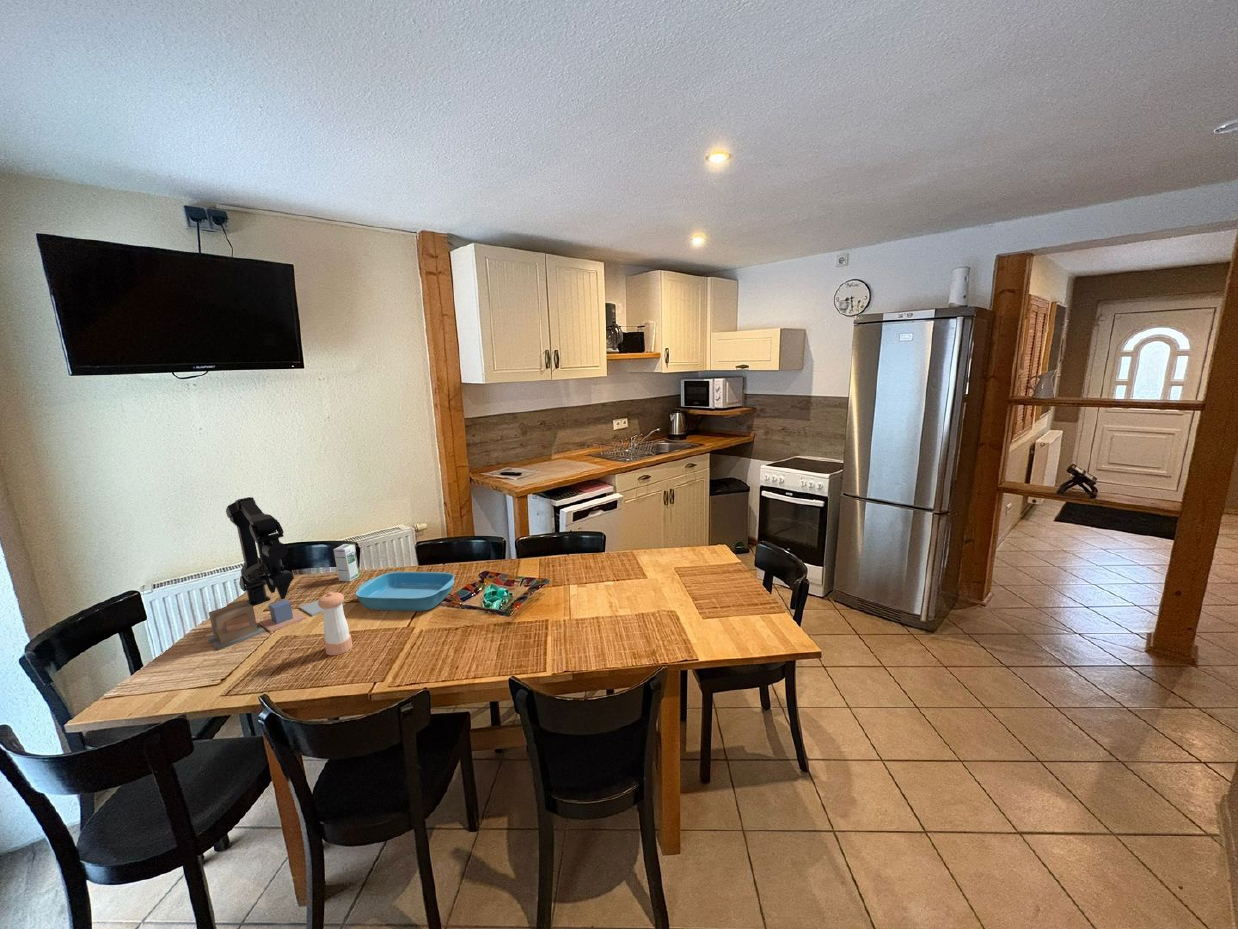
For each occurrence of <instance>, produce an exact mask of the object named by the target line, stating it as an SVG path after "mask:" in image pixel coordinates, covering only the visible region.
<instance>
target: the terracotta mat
mask: <svg viewBox="0 0 1238 929" xmlns="http://www.w3.org/2000/svg"><path fill="white" fill-rule="evenodd" d="M291 609H292V608H291ZM292 614H293V619H290V620H287V621H285V622H282V623H280V624H276V623H275V622H273V621H272V619H271V617H268V618H265V619H262V620H260V621H258V625H259V626H260V625H261V626H262V628H263V629H265V630H267V631H268V632H270V633H274V632H276V631H278V630H280V629H283V628H286V627H288V626H291V625H293V624H296V623H299V622H301V621H303V620H304V621H305V620H306V619H307V616H305V615H303V614H302V613H300V612H299V611H297V610H296V609H292Z"/></svg>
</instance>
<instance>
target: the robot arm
mask: <svg viewBox="0 0 1238 929" xmlns="http://www.w3.org/2000/svg"><path fill="white" fill-rule="evenodd" d="M225 513H226V516H227V518H228V519H229V520H230V522H231V523H232V524H233V525H234V526H236V530H237V534H238V539H239V543H240V548H241V552H242V553H241V554H242V558H243V565H242V568H240V574H241V575H240V576H239V582H238V584H239V588H240V590H241V591H243V592H246V594H247V598H248V599H247V600H245V601H246V602H248V603H249V604H251V605H252V606H253V607H254V606H256V605H258V604H261V603H265V602H267V601H270V600H271V597H270V596H268V595H267V591H266V586H267V589H268V590H269V592H270V593H271V594H274V593H275V592H276V590H277V594H278V596H279V597H280V600H284V599H285V600H286V597H287V594H288V592H289V591H288V590H289V588H290V585H291V583H292V581H293V580H295V577H294V573H293V572H291V571H289V570H286V568H285V565H284V564H283V561H282V560H283V559H285V557H286V556H287V555H288V553H289V547H288V546H287V545H286V544H284V543H283V542H281V541H280V538H283V537H284V533H285V531H284V529H283V527H282V525H281V523H280V521H279V520H278V519H277V518H275V517H274V516H272V515H271V514H267V513H264V512H263V511H262V509H261V508H260V507H259V506H258V505H257V503H256V500H255V498H254V497H253V496H250V497H248V496H247V497H244V498H243V497H242V498H238V499H237V500H235V501H234V502H232V503H230V504H228V505H227V507H226V508H225ZM258 554H259V555H258Z"/></svg>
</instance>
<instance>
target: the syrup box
mask: <svg viewBox="0 0 1238 929" xmlns="http://www.w3.org/2000/svg"><path fill="white" fill-rule="evenodd" d="M333 555H334V561H335V566H336V570H337V575H338V576H337V577H338V581H341V582H353V581H354V580H355V579H357V578H360V576H361V573H360V569H359V563H358V562H359V561H358V558H357V551H356V546H355V544H353V543H344V544H343V543H342V545H339V546H338V547H336V548H333Z"/></svg>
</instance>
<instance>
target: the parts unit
mask: <svg viewBox="0 0 1238 929" xmlns="http://www.w3.org/2000/svg"><path fill="white" fill-rule="evenodd" d="M208 616H209V620H210V621H209V622H210V624H211V628H212V633H213V635H211V636H209V637H207V641H208V642H209V643H210V644H211V645H212V646H213V647H214V648H215V649H216V650H218V651H220V650H222V649H226V648H228V647H230V646H233V645H235V644H238V643H241V642H243V641H247V640H249V639H251V638H253V637H256V636H259V635H261V634H264V633H265V632H266V629H265V628H264V627H263V626H262V627H261V626H260V624H259V623H257V620H256V614H255V610H254V605H253V606H252V605H251V604H249V603H248V602H246V600H245V599H243V600H241V601H239V602H236V603H233V604H230V605H226V606H224V607H221V608H217V609H215V610H212V611H209V612H208Z"/></svg>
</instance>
